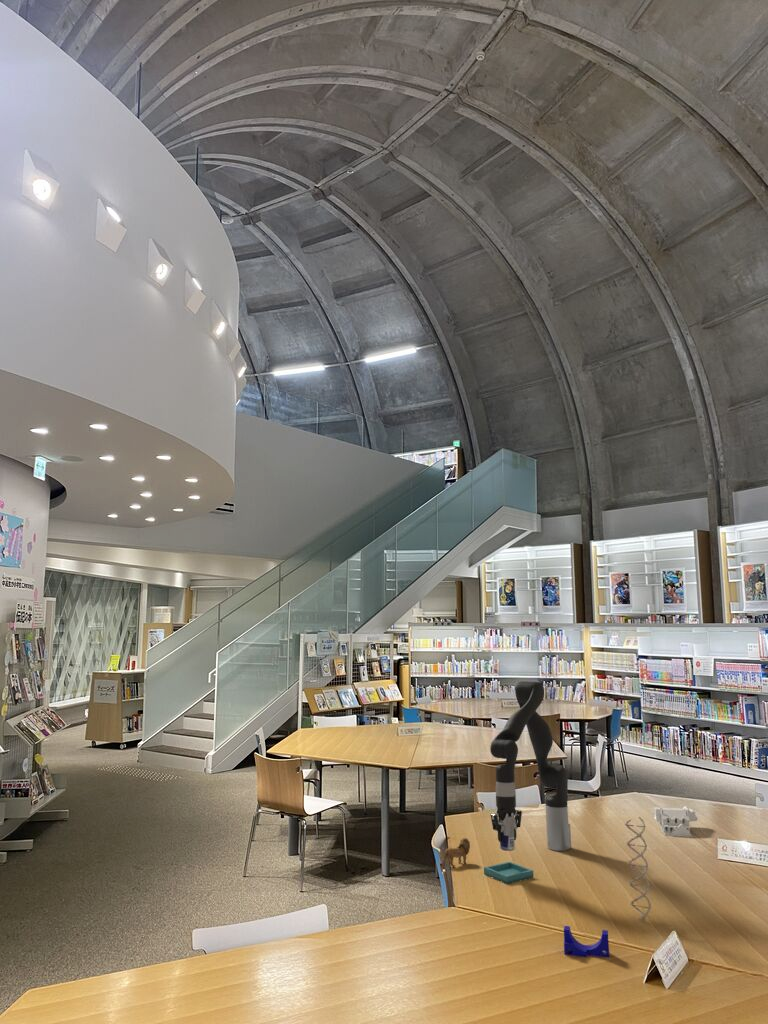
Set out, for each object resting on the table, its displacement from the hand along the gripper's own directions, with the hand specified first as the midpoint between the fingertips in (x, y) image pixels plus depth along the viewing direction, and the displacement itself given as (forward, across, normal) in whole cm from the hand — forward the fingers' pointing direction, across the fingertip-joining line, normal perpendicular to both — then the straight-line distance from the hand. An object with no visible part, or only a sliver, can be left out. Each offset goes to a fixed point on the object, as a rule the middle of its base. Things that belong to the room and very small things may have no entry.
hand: (507, 840), depth 267 cm
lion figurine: (+13, +8, -22) cm, 27 cm away
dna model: (+13, -8, +54) cm, 56 cm away
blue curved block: (+13, +26, +63) cm, 69 cm away
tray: (+12, 0, 0) cm, 12 cm away
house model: (+12, -109, -6) cm, 110 cm away
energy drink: (+3, 0, 0) cm, 3 cm away
